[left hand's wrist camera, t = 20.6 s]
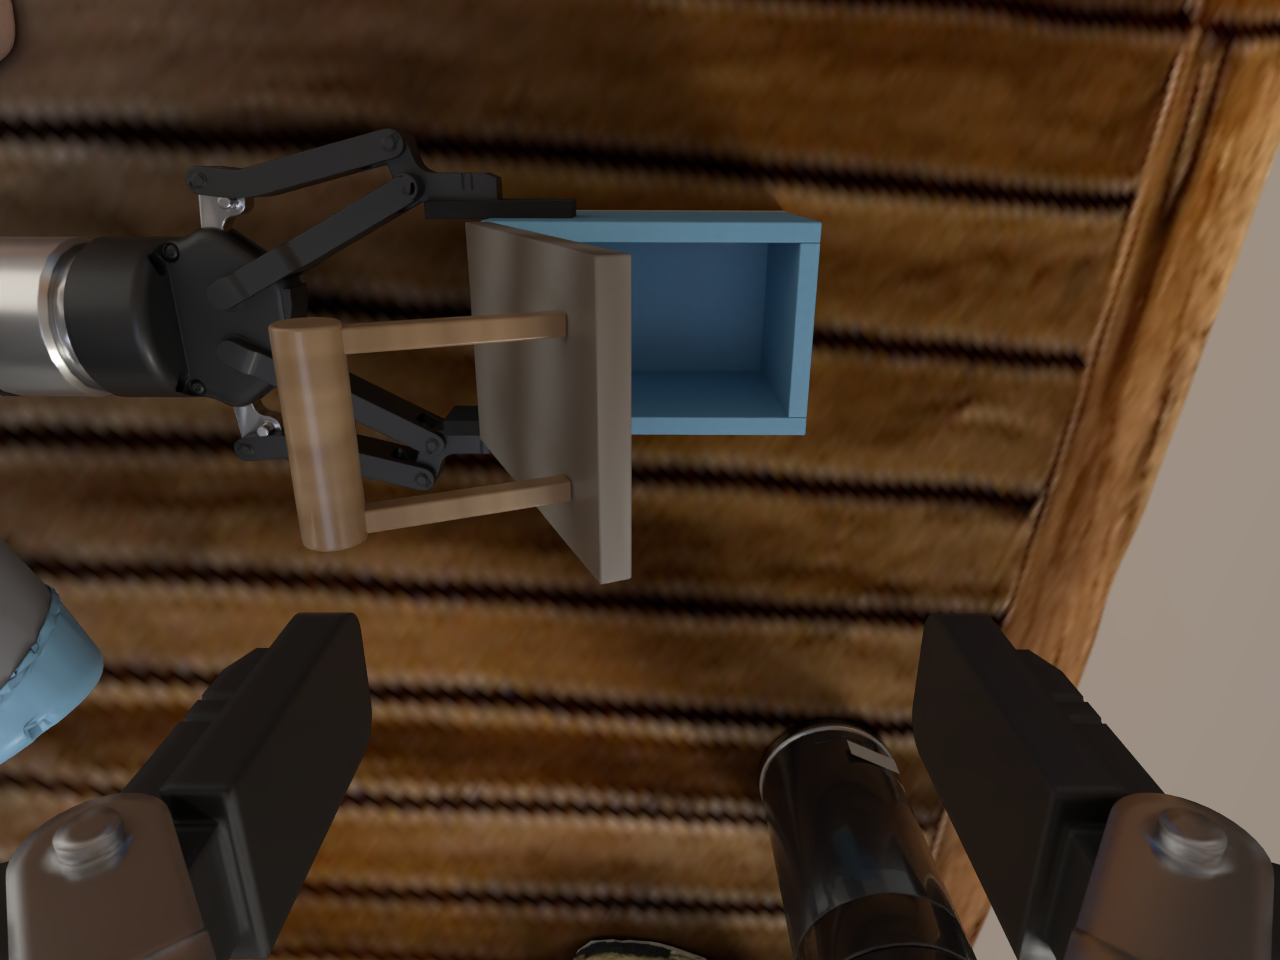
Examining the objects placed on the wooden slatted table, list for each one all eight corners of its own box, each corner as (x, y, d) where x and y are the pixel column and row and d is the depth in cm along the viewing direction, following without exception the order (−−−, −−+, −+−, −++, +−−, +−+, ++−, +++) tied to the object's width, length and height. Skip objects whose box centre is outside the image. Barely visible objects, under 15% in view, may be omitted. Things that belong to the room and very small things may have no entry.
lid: (632, 253, 21) (256, 268, 18) (632, 579, 24) (316, 643, 21) (489, 221, 34) (257, 226, 31) (502, 436, 37) (294, 462, 34)
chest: (783, 210, 44) (822, 221, 34) (772, 382, 47) (805, 435, 38) (514, 209, 44) (479, 220, 34) (522, 381, 47) (493, 434, 38)
